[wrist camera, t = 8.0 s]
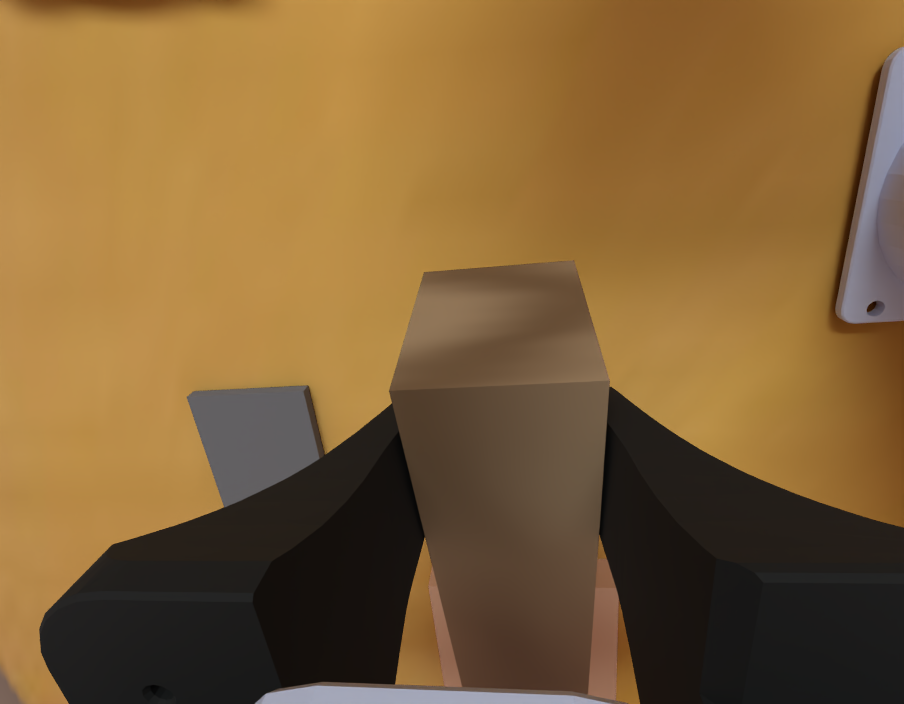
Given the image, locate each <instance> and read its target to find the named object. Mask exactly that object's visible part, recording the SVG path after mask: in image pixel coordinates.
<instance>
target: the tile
mask: <svg viewBox="0 0 904 704" xmlns="http://www.w3.org/2000/svg"><path fill="white" fill-rule="evenodd" d="M428 587H429V593H430V600H431V606H432V612H433V618H434V624H435V631H436V637H437V643H438V649H439V656H440V662H441V668H442V674H443V680H444V687H462V684H461V680H460V676H459V672H458V668H457V664H456V660H455V656H454V652H453V648H452V644H451V640H450V636H449V632H448V628H447V623H446V619H445V615H444V611H443V607H442V603H441V599H440V595H439V591H438V587H437V583H436V579H435V575H434V571H433V567H432V569H431V575H430V580H429V586H428ZM618 607H619V597H618V593H617V589H616V586H615V583H614V580H613V577H612V573H611V570H610V567H609V564H608V560H607V559H597V572H596V586H595V600H594V615H593V629H592V644H591V658H590V673H589V687H588V695H592V696H596V697H601V698H606V699H611V700H615V701H616V678H617V643H618Z"/></svg>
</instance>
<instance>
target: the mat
mask: <svg viewBox="0 0 904 704" xmlns="http://www.w3.org/2000/svg"><path fill="white" fill-rule="evenodd" d="M187 399H188V402H189V405H190V408H191V411H192V414H193V417H194V420H195V423H196V426H197V429H198V431H199V434H200V437H201V440H202V443H203V446H204V449H205V452H206V455H207V458H208V461H209V464H210V467H211V470H212V473H213V475H214V478H215V481H216V484H217V487H218V490H219V493H220V496H221V499H222V502H223V505H224V507H227V506H229V505H231V504H234V503H236V502H239V501H241V500H243V499H245V498H247V497H249V496H251V495H254V494H256V493H258V492H260V491H262V490H264V489H266V488H268V487H270V486H272V485H274V484H276V483H278V482H280V481H282V480H284V479H286V478H288V477H290V476H292V475H293V474H295V473H297V472H298V471H300V470H302V469H304V468H305V467H307V466H309V465H310V464H312V463H314V462H315V461H317V460H318V459H320V458H321V457H323V456H324V451H323V447H322V443H321V438H320V434H319V430H318V426H317V421H316V417H315V413H314V409H313V404H312V400H311V396H310V392H309V387H308V386H290V387H270V388H250V389H230V390H211V391H194V392H192V393H191V394H190V395H189V396H187Z"/></svg>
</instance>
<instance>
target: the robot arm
mask: <svg viewBox="0 0 904 704" xmlns="http://www.w3.org/2000/svg"><path fill="white" fill-rule="evenodd" d="M874 301H876V306H875V308H874V309H873V310H872V311H870V312H867V307H868V305H869V304H871V303H872V302H874ZM835 311H836V314H837V316H838V317H839V318H840V319H842V320H844V321H846V322H848V323H853V324H858V323H875V322H892V321H904V47H901V48H898V49H896V50H895V51H894V52H892V53H891V54H890V55H889V56H888V58H887V59H886V60H885V62H884V65H883V68H882V72H881V77H880V82H879V87H878V92H877V97H876V102H875V108H874V113H873V118H872V123H871V128H870V133H869V138H868V143H867V148H866V154H865V159H864V164H863V169H862V174H861V179H860V184H859V189H858V194H857V200H856V205H855V210H854V215H853V220H852V225H851V230H850V235H849V240H848V246H847V251H846V256H845V261H844V266H843V271H842V276H841V281H840V287H839V292H838V297H837V302H836V307H835ZM599 535H600V538H601V541H602V544H603V547H604V551H605V554H606V557H607V560H608V564H609V567H610V570H611V573H612V577H613V580H614V583H615V586H616V589H617V593H618V597H619V601H620V605H621V609H622V613H623V618H624V623H625V628H626V633H627V637H628V642H629V647H630V652H631V657H632V663H633V668H634V673H635V678H636V684H637V689H638V694H639V699H640V704H904V528H902V527H899V526H895V525H891V524H887V523H883V522H880V521H876V520H872V519H869V518H866V517H862V516H859V515H856V514H853V513H850V512H847V511H844V510H841V509H838V508H834V507H831V506H828V505H825V504H822V503H819V502H817V501H814V500H811V499H808V498H805V497H803V496H800V495H797V494H795V493H792V492H789V491H787V490H785V489H782V488H780V487H777V486H775V485H772V484H770V483H768V482H765V481H763V480H760V479H758V478H756V477H754V476H751V475H749V474H747V473H745V472H743V471H740V470H738V469H736V468H734V467H732V466H730V465H729V464H727V463H725V462H723V461H721V460H719V459H717V458H715V457H713V456H711V455H709V454H707V453H706V452H704V451H702V450H700V449H699V448H697V447H695V446H694V445H692V444H690V443H689V442H687V441H686V440H684V439H682V438H681V437H679V436H678V435H676V434H674V433H673V432H671V431H670V430H668V429H667V428H665V427H664V426H663V425H661V424H660V423H658V422H657V421H655V420H654V419H653V418H651V417H650V416H649V415H647V414H646V413H645V412H643V411H642V410H641V409H639V408H638V407H637V406H635V405H634V404H633V403H632V402H630V401H629V400H628V399H626V398H625V397H624V396H623V395H621V394H620V393H619V392H618V391H616V390H615V389H613V388H612V387H609V398H608V413H607V427H606V442H605V456H604V470H603V485H602V499H601V514H600V528H599ZM424 538H425V534H424V530H423V526H422V522H421V518H420V514H419V510H418V506H417V502H416V498H415V494H414V490H413V486H412V482H411V477H410V473H409V469H408V465H407V461H406V457H405V453H404V449H403V445H402V441H401V437H400V433H399V429H398V425H397V421H396V417H395V413H394V409H393V404H391V405H390V406H388V407H387V408H386V409H385V410H384V411H382V412H381V413H380V414H379V415H377V416H376V417H375V418H374V419H373V420H371V421H370V422H369V423H368V424H366V425H365V426H364V427H363V428H361V429H360V430H359V431H358V432H356V433H355V434H354V435H352V436H351V437H349V438H348V439H347V440H345V441H344V442H343V443H341V444H340V445H338V446H337V447H336V448H334V449H333V450H332V451H330V452H329V453H327V454H326V455H324V456H323V457H321V458H320V459H318V460H317V461H315V462H314V463H312V464H310V465H309V466H307V467H305V468H304V469H302V470H300V471H298V472H297V473H295V474H293V475H292V476H290V477H288V478H286V479H284V480H282V481H280V482H278V483H276V484H274V485H272V486H270V487H268V488H266V489H264V490H262V491H260V492H258V493H256V494H254V495H251V496H249V497H247V498H245V499H243V500H241V501H239V502H236V503H234V504H231V505H229V506H227V507H224V508H222V509H219V510H217V511H214V512H212V513H209V514H206V515H204V516H201V517H198V518H196V519H193V520H190V521H187V522H184V523H181V524H179V525H176V526H172V527H169V528H166V529H163V530H159V531H156V532H153V533H150V534H146V535H143V536H140V537H137V538H133V539H130V540H127V541H123V542H120V543H116V544H113V545H112V546H111V547H109V548H108V550H107V551H106V552H105V553H104V554H103V555H102V556H101V557H100V558H99V559H98V560H97V561H96V562H95V563H94V564H93V565H92V566H91V567H90V568H89V569H88V570H87V571H86V572H85V573H84V574H83V575H82V576H81V577H80V578H79V579H78V580H77V581H76V582H75V583H74V584H73V585H72V586H71V587H70V588H69V589H68V590H67V592H66V593H65V594H64V595H63V596H62V597H61V598H60V599H59V600H58V601H57V602H56V603H55V604H54V605H53V606H52V607H51V608H50V609H49V610H48V611H47V612H46V613H45V615H44V618H43V620H42V623H41V626H40V629H39V631H40V645H41V653H42V656H43V658H44V660H45V663H46V665H47V667H48V669H49V671H50V673H51V674H52V676H53V678H54V679H55V681H56V683H57V684H58V686H59V688H60V689H61V691H62V693H63V694H64V696H65V698H66V699H67V701H68V703H69V704H628V703H625V702H620V701H615V700H611V699H606V698H601V697H596V696H592V695H587V694H582V693H578V692H573V691H549V690H523V689H497V688H471V687H444V686H418V685H395V681H396V674H397V667H398V660H399V653H400V646H401V640H402V634H403V627H404V621H405V615H406V609H407V604H408V599H409V595H410V590H411V586H412V582H413V579H414V575H415V571H416V567H417V564H418V560H419V556H420V553H421V549H422V545H423V541H424Z"/></svg>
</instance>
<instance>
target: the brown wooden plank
mask: <svg viewBox="0 0 904 704" xmlns="http://www.w3.org/2000/svg"><path fill="white" fill-rule="evenodd" d="M609 384H610V380H609V377H608V373H607V370H606V366H605V363H604V360H603V356H602V353H601V350H600V346H599V343H598V339H597V336H596V333H595V329H594V326H593V323H592V319H591V316H590V313H589V309H588V306H587V302H586V299H585V296H584V292H583V289H582V286H581V282H580V279H579V276H578V272H577V269H576V265H575V262H574V260H573V261H561V262H548V263H535V264H523V265H510V266H497V267H485V268H472V269H459V270H447V271H434V272H424V274H423V277H422V281H421V284H420V288H419V291H418V294H417V298H416V301H415V305H414V308H413V311H412V315H411V318H410V322H409V325H408V328H407V332H406V335H405V339H404V342H403V345H402V349H401V352H400V356H399V359H398V362H397V366H396V369H395V373H394V376H393V379H392V383H391V386H390V390H389V392H390V396H391V400H392V404H393V409H394V413H395V417H396V421H397V425H398V429H399V433H400V437H401V441H402V445H403V449H404V453H405V457H406V461H407V465H408V469H409V473H410V477H411V482H412V486H413V490H414V494H415V498H416V502H417V506H418V510H419V514H420V518H421V522H422V526H423V530H424V534H425V538H426V542H427V546H428V550H429V555H430V559H431V563H432V567H433V571H434V575H435V579H436V583H437V587H438V591H439V595H440V599H441V603H442V607H443V611H444V615H445V619H446V623H447V628H448V632H449V636H450V640H451V644H452V648H453V652H454V656H455V660H456V664H457V668H458V672H459V676H460V680H461V684H462V687H471V688H497V689H523V690H549V691H573V692H578V693H582V694H587V695H588V687H589V673H590V658H591V644H592V629H593V615H594V600H595V586H596V572H597V557H598V543H599V528H600V514H601V499H602V485H603V470H604V456H605V442H606V427H607V413H608V398H609Z"/></svg>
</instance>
